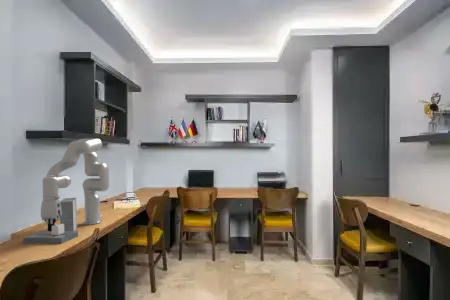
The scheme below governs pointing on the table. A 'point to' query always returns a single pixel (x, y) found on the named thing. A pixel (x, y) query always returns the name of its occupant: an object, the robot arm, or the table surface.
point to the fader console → (50, 237)
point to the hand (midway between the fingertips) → (51, 230)
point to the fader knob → (58, 229)
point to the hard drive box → (69, 214)
